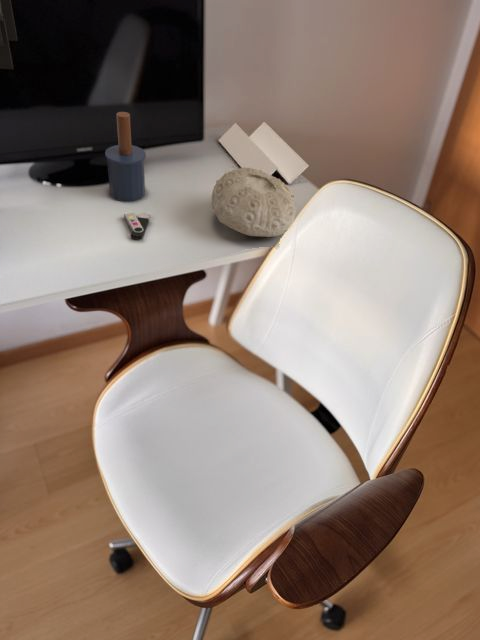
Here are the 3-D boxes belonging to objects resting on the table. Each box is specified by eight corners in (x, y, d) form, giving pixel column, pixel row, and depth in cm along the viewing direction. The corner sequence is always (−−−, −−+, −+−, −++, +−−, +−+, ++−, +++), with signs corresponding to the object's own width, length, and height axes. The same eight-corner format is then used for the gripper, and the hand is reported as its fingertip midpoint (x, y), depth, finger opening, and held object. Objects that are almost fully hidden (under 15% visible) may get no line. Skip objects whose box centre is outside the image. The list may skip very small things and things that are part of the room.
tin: (111, 202, 116) (108, 164, 110) (109, 185, 121) (105, 148, 115) (146, 201, 118) (145, 163, 112) (142, 184, 123) (141, 147, 117)
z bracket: (271, 201, 132) (257, 186, 127) (232, 155, 148) (218, 140, 143) (308, 165, 130) (296, 148, 125) (264, 122, 145) (251, 106, 140)
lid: (106, 168, 110) (102, 122, 104) (104, 149, 116) (100, 105, 109) (148, 167, 112) (146, 122, 106) (143, 149, 118) (142, 106, 111)
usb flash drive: (142, 240, 107) (142, 235, 106) (115, 236, 107) (115, 232, 106) (150, 217, 113) (150, 213, 112) (125, 214, 113) (125, 210, 112)
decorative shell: (261, 190, 124) (273, 151, 117) (304, 241, 117) (320, 203, 109) (193, 201, 115) (201, 160, 108) (235, 257, 108) (247, 217, 100)
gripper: (-4, -108, 64) (29, 82, 79) (8, -130, 81) (33, 30, 95) (-76, -116, 62) (-28, 81, 77) (-48, -137, 79) (-14, 28, 93)
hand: (6, 53), depth 86 cm, fingers open, 13 cm apart
